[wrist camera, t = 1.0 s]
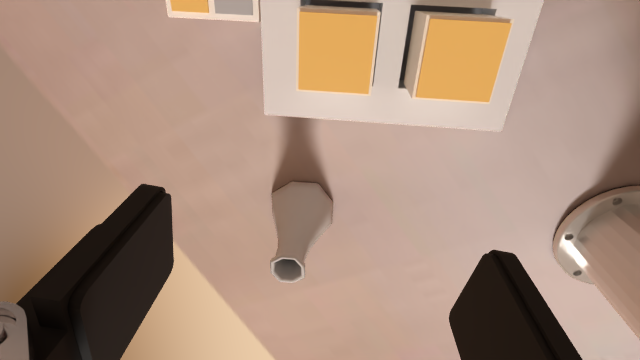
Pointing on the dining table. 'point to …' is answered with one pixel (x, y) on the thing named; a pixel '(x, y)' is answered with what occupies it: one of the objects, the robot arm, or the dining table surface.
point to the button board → (391, 66)
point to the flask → (298, 226)
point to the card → (215, 9)
